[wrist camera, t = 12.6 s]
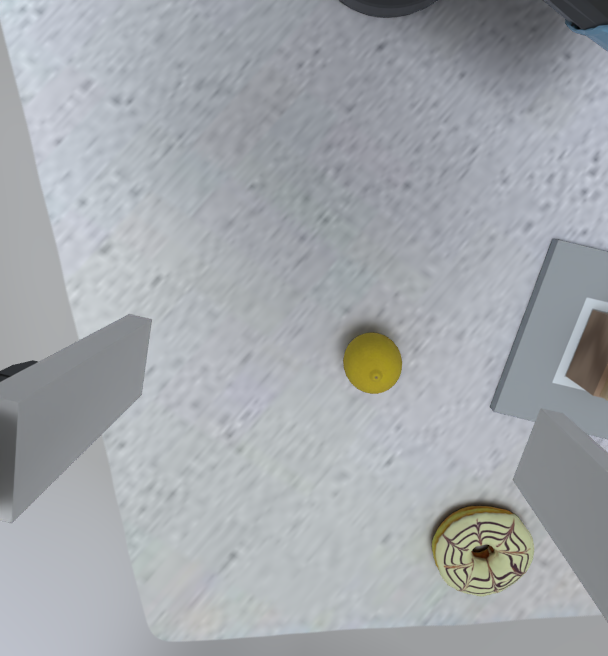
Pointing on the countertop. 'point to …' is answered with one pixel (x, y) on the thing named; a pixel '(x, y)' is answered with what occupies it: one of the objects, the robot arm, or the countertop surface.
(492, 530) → the decorated donut
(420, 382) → the countertop surface
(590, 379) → the walnut base
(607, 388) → the oak cube
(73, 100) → the countertop surface
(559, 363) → the grey square plate
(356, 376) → the lemon
